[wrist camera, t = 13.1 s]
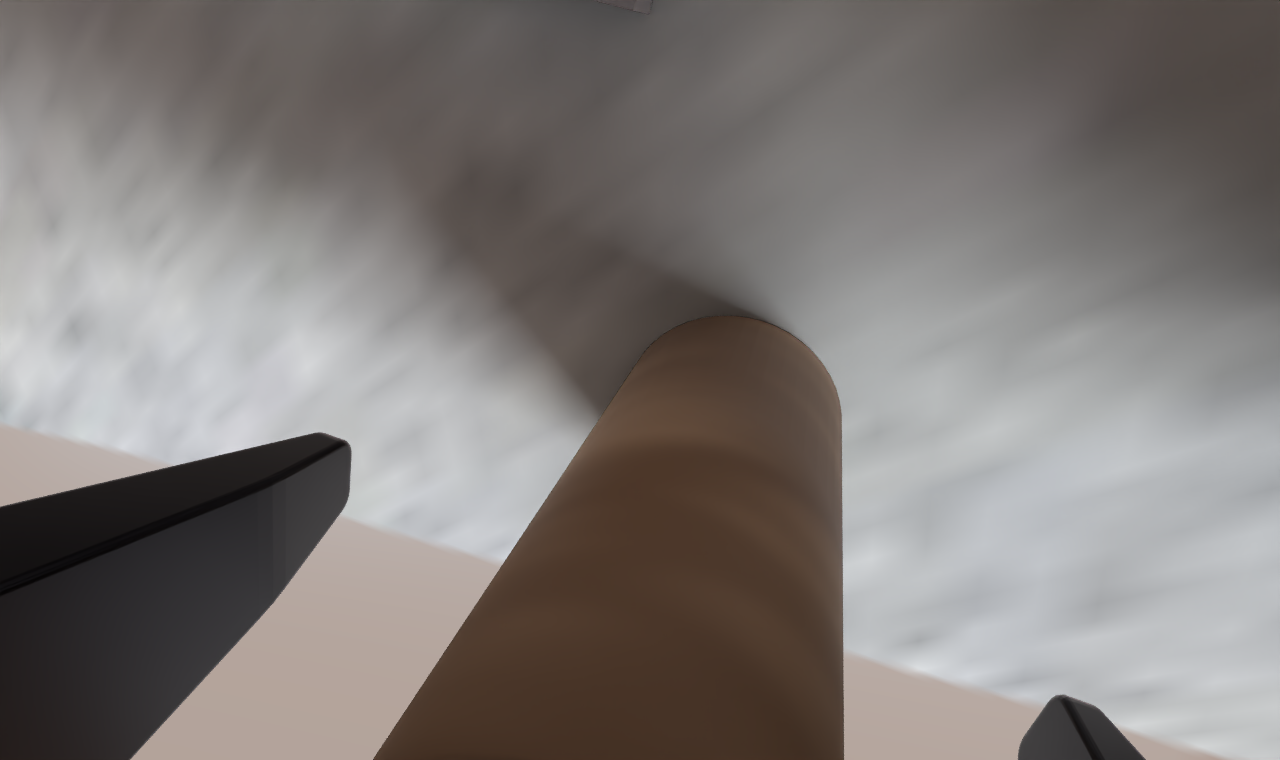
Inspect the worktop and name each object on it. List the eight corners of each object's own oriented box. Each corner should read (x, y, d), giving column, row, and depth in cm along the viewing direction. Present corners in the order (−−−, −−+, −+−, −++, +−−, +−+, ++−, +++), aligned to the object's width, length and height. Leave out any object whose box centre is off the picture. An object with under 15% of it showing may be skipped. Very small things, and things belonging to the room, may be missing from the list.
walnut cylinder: (875, 355, 12) (944, 912, 4) (799, 537, 14) (748, 1171, 6) (651, 287, 13) (337, 671, 5) (606, 471, 15) (322, 977, 7)
